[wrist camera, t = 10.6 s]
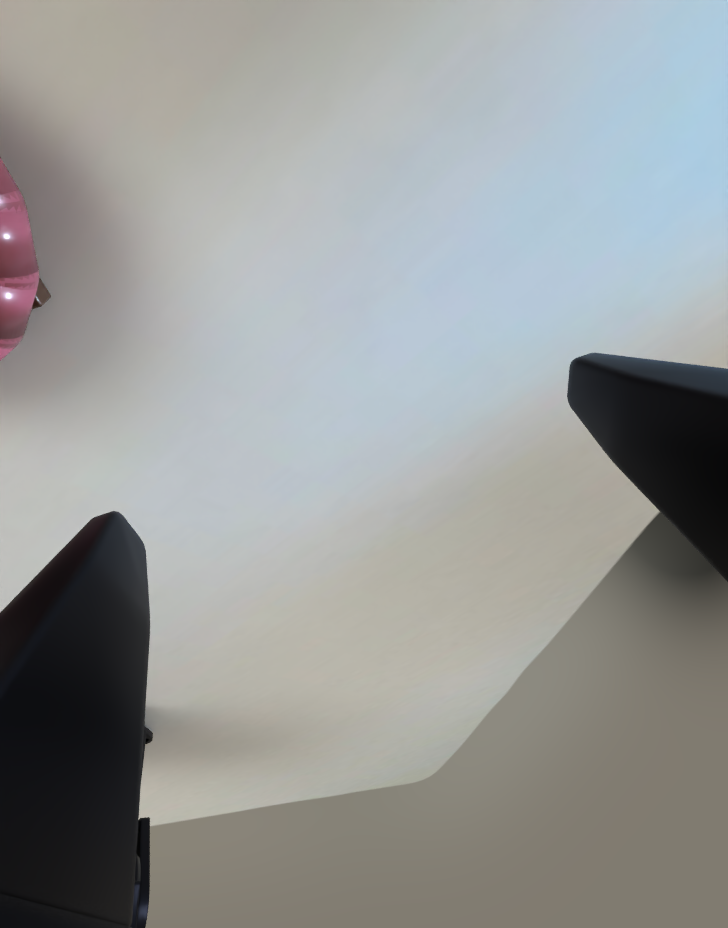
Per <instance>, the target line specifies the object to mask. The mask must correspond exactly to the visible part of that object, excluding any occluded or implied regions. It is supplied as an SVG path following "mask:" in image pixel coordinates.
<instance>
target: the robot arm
mask: <svg viewBox="0 0 728 928" xmlns="http://www.w3.org/2000/svg"><path fill="white" fill-rule="evenodd" d="M567 397H568V402H569V405H570V407H571V408H572V410H573V411H574V412H575V413H576V415H577V416H578V417H579V419H580V420H581V421H582V423H583V424H584V425H585V427H586V428H587V429H588V431H589V432H590V433H591V434H592V436H593V437H594V438H595V440H596V441H597V442H598V444H599V445H600V446H601V448H602V449H603V450H604V451H605V453H606V454H607V455H608V456H609V458H610V459H611V460H612V461H613V462H614V463H615V465H616V466H617V467H618V468H619V469H620V470H621V471H622V472H623V473H624V474H625V475H626V476H627V477H628V478H629V479H630V480H631V481H632V483H633V484H634V485H635V486H636V487H637V488H638V489H639V490H640V491H641V492H642V493H643V494H644V495H645V496H646V497H647V498H648V499H649V500H650V501H651V502H652V503H653V504H654V505H655V506H656V508H657V509H658V510H659V511H660V512H661V513H662V514H663V515H664V516H665V517H666V518H667V519H668V520H669V521H670V522H671V523H672V524H673V525H674V526H675V527H676V528H677V529H678V530H679V531H680V533H682V535H683V536H684V537H685V538H686V539H687V540H688V541H689V542H690V543H691V544H692V545H693V546H694V547H695V548H696V549H697V550H698V551H699V552H700V553H701V554H702V555H703V556H704V557H705V559H707V560H708V562H709V563H710V564H711V565H712V566H713V567H714V568H715V569H716V570H717V571H718V572H719V573H720V574H721V575H722V576H723V577H724V578H725V579H726V580H727V581H728V369H724V368H716V367H708V366H700V365H691V364H683V363H675V362H667V361H658V360H650V359H642V358H634V357H625V356H617V355H609V354H601V353H590V354H587V355H584V356H581V357H578V358H575V359H574V360H573V361H572V362H571V364H570V369H569V381H568V393H567ZM149 638H150V609H149V594H148V579H147V563H146V550H145V546H144V544H143V542H142V540H141V539H140V537H139V536H138V535H137V533H136V532H135V531H134V529H133V528H132V527H131V525H130V524H129V523H128V522H127V520H126V519H125V518H124V516H123V515H122V514H120V513H119V512H116V511H112V512H109V513H106V514H103V515H100V516H97V517H94V518H93V519H91V520H90V521H89V522H88V523H87V524H86V525H85V526H84V527H83V528H82V529H81V530H80V531H79V532H78V534H77V535H76V536H75V537H74V538H73V539H72V540H71V541H70V542H69V543H68V544H67V545H66V546H65V547H64V548H63V549H62V550H61V551H60V552H59V553H58V554H57V555H56V556H55V557H54V558H53V559H52V560H51V561H50V562H49V563H48V564H47V565H46V566H45V567H44V568H43V569H42V570H41V571H40V573H39V574H38V575H37V576H36V577H35V578H34V579H33V580H32V581H31V582H30V583H29V584H28V585H27V586H26V587H25V588H24V589H23V590H22V591H21V592H20V593H19V594H18V595H17V596H16V597H15V598H14V599H13V600H12V601H11V602H10V603H9V604H8V605H7V606H6V607H5V608H4V609H3V610H2V611H1V613H0V928H145V926H146V920H147V913H148V904H149V887H150V885H149V884H150V883H149V880H150V879H149V878H150V877H149V876H150V873H149V872H150V870H149V869H150V856H149V855H150V818H149V817H148V818H140V819H139V820H138V817H139V801H140V786H141V777H142V768H143V759H144V751H145V744H147V743H150V742H151V741H152V738H153V733H152V732H151V731H150V730H149V729H148V728H146V727H145V726H144V719H145V703H146V687H147V671H148V654H149Z"/></svg>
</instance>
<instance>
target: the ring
mask: <svg viewBox="0 0 728 928" xmlns="http://www.w3.org/2000/svg"><path fill="white" fill-rule="evenodd" d="M38 284H39V268H38V263H37V258H36V253H35V248H34V243H33V238H32V233H31V228H30V223H29V218H28V213H27V208H26V205H25V201H24V198H23V196H22V194H21V192H20V190H19V188H18V187H17V185H16V183H15V182H14V180H13V178H12V177H11V175H10V173H9V171H8V170H7V168H6V166H5V165H4V163H3V161H2V160H1V158H0V361H1V360H2V359H3V358H4V357H5V356H6V355H7V354H8V353H9V352H10V351H12V350H13V349H14V348H15V347H16V346H17V345H18V344H19V342H20V341H21V340H22V338H23V336H24V333H25V330H26V327H27V323H28V320H29V316H30V313H31V309H32V305H33V302H34V298H35V295H36V291H37V288H38Z"/></svg>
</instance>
